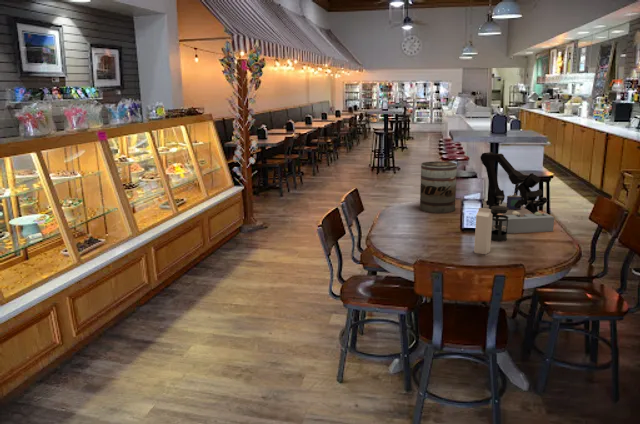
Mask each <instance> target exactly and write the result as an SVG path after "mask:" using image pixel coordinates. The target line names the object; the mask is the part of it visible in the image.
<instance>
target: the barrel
mask: <svg viewBox="0 0 640 424" xmlns="http://www.w3.org/2000/svg"><path fill="white" fill-rule="evenodd" d="M457 174H458V164H457V163H456V162H451V161H440V160H439V161H426V162H422V163H421V164H420V194H419V197H420V198H419V200H420V201H419V210H420V211H421V212H424V213H428V214H437V215H438V214H439V215H440V214H443V215H444V214H451V213H454V212H455V211H456V199H457V198H456V196H457V193H456V191H457V176H458V175H457Z"/></svg>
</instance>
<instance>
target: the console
mask: <svg viewBox="0 0 640 424" xmlns="http://www.w3.org/2000/svg"><path fill="white" fill-rule="evenodd" d="M541 214H542V215H543V216H536V215H534V214H533V213H526V214H523V216H520V217H517V216H515V215H512V214H505V216H507V217H508V226H507V221H502V225H503V226H507V235H508V234H528V233H545V232H547V233H548V232H554V228H555V227H554V226H555V217H554V216H553V215H550V214H548V213H545V212H544V213H542V212H541ZM492 218H496V217H492ZM499 219H506V218H499ZM492 225H495V221H493V220H492ZM492 230H494V229H492ZM502 231H505V232H506V229H505V230H502Z"/></svg>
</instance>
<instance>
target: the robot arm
mask: <svg viewBox="0 0 640 424" xmlns="http://www.w3.org/2000/svg"><path fill="white" fill-rule="evenodd" d="M480 161H481V163H482V165H483V167H485V170H486V171H485V172H486V173H487V178H488V183H489V187H490V188H489V189H490V191H489V199H487V200H486V201H485V204H486V206H488V209H491V207H492V206H501V205H502V204H503V202H504V200H505V198H501V202H500V200H499V198H497V197H496V196H504V197H506V195H505V191H504V189H502V190H501V188H500V186H499V181H498V177H497V173H496V168H495V163H496V162H497V163H498V164H499V165H500V167H501V168H502V170H504V172H505V173H506V175H508V179H509V181H510V183H511V184H512V185H516V186H515V189H514V190H515V191H518V192H519V193H520V196H521V198H522V199H521V200H518V201H517V202H516V203H515V208H516V209H518V208H520V207H521V208H522V206H525V207H524V209H525V210H527V211H529V212H530V213H531V214H533V215H534V213H535V212H539V210H538V209H539V207H543V206H544V205H545V204H546V203H547V202H549V200H548V198H547V197H545V196H543V197H541V196H542V195H543V193H544V192H543V190H542V189H537V190H531V189H533V188H534V187H536V185H538V184H539V183H540V182H541V179H540V177H539V176H538V175H536V174H534V173H530V174H528V176H525V175H524V174H523V173H522V172H520V171H518V170H517V169H515V168H514V167H513V165H512V164H511V163H510V162H509V160H508V159H507V158H506V157H505V155H504V154H503V153H494V152H492V151H487V152H482V153H481V155H480ZM538 197H539V198H538ZM520 205H521V206H520ZM491 213H492V214H493V215H497V214H499V213H493V212H491Z"/></svg>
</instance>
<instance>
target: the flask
mask: <svg viewBox="0 0 640 424" xmlns="http://www.w3.org/2000/svg"><path fill="white" fill-rule="evenodd" d="M521 196H522V195H517V194H516V192H515V193H513V194H509V195H507V196H506V207H508V208H509V209H508V211H520V210H522V205H520V206H521V207H520V208H518V209H516V208H515V203H516V202H517V201H518V200H521V199H523V198H521Z"/></svg>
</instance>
